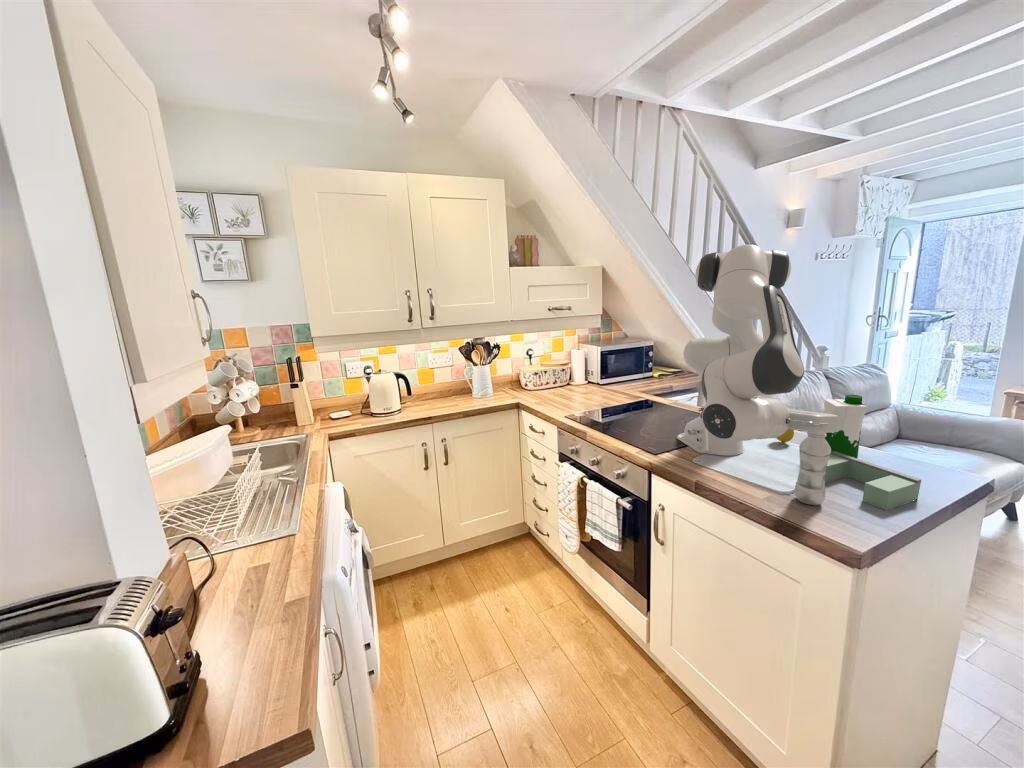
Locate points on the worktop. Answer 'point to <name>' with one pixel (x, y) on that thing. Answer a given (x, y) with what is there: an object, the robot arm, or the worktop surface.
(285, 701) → the worktop surface
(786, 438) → the lemon
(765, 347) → the robot arm
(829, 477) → the green u-shaped bracket
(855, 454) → the milk carton
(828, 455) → the plastic bottle
